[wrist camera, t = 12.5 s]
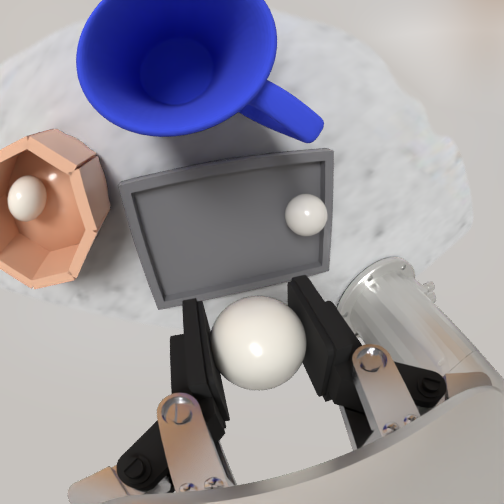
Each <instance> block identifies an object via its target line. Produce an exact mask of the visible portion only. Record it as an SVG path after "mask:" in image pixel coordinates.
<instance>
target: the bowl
mask: <svg viewBox="0 0 504 504" xmlns="http://www.w3.org/2000/svg"><path fill="white" fill-rule="evenodd" d="M95 154H96V153H95V152H94V151H92V150H90V149H89V148H88V147H87V146H86V145H85V144H84V143H83V142H81V141H80V140H78V139H76V138H74V137H72V136H70V135H67V134H64V133H63V132H61V131H59V130H58V129H50V130H47V131H43V132H39V133H36V134H32V135H29V136H26V137H24V138H22V139H20V140H18V141H16V142H14V143H12V144H10V145H9V146H7V147H5V148H3V149H1V150H0V269H1V270H3V271H4V272H6V273H8V274H9V275H11V276H12V277H14V278H15V279H17V280H18V281H20V282H22V283H23V284H25V285H27V286H28V287H30V288H33V287H34V289H38V288H42V287H47V286H51V285H56V284H60V283H64V282H69V281H73V280H75V278H77V276H78V274H79V272H80V270H81V268H82V265H83V263H84V261H85V259H86V257H87V255H88V253H89V251H90V249H91V247H92V244H93V242H94V240H95V238H96V236H97V234H98V232H99V230H100V228H101V226H102V224H103V222H104V220H105V218H106V216H107V215H108V213H109V211H110V209H109V208H110V206H111V205H110V201H109V198H108V187H107V182H106V178H105V175H104V171H103V169H102V167H101V165H100V162H99V157H98V156H95ZM26 175H32V176H35V177H37V178H39V179H40V180H41V181H42V182H43V184H44V186H45V188H46V193H47V200H46V205H45V207H44V210H43V211H42V213H41V214H40V215H39V216H38V217H37V218H36V219H34V220H32V221H28V222H24V221H20V220H18V219H16V218H15V217H14V216H13V215H12V214H11V212H10V210H9V207H8V193H9V190H10V188H11V186H12V185H13V183H14V182H15V181H16V180H17V179H19V178H20V177H22V176H26Z"/></svg>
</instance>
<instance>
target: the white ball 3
mask: <svg viewBox="0 0 504 504" xmlns="http://www.w3.org/2000/svg"><path fill="white" fill-rule="evenodd" d="M285 220H286V223H287V225H288V227H289V228H290V229H291V230H292V231H293V232H294V233H296V234H298V235H301V236H312V235H315V234H317V233H319V232H320V231H321V230H322V229H323V228H324V226H325V224H326V221H327V209H326V207H325V205H324V203H323V202H322V201H321V200H320V199H319V198H318V197H316V196H314V195H311V194H300V195H298V196H296V197H294V198H293V199H291V201H290V202H289V203H288V205H287V207H286V210H285Z"/></svg>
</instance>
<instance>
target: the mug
mask: <svg viewBox="0 0 504 504" xmlns="http://www.w3.org/2000/svg"><path fill="white" fill-rule="evenodd" d="M276 50H277V32H276V27H275V22H274V19H273V16H272V14H271V11H270V9H269V8H268V6H267V4H266V2H265V1H264V0H102V1H101V2H100V3H99V4H98V6H97V7H96V8H95V9H94V11H93V12H92V14H91V15H90V17H89V18H88V20H87V22H86V24H85V26H84V28H83V31H82V33H81V36H80V39H79V43H78V48H77V55H76V65H77V74H78V79H79V82H80V85H81V88H82V90H83V92H84V94H85V96H86V98H87V99H88V101H89V102H90V103H91V105H92V106H93V107H94V108H95V109H96V110H97V111H98V112H99V113H100V114H101V115H102V116H103V117H104V118H106V119H107V120H108V121H110V122H112V123H113V124H115V125H117V126H119V127H121V128H123V129H125V130H128V131H131V132H134V133H138V134H142V135H149V136H158V137H171V136H181V135H187V134H192V133H195V132H199V131H203V130H205V129H208V128H211V127H213V126H215V125H217V124H219V123H221V122H223V121H225V120H227V119H229V118H230V117H232V116H233V115H235V114H236V113H237V112H239V113H241V114H242V115H244V116H246V117H248V118H250V119H251V120H253V121H255V122H257V123H259V124H261V125H263V126H266V127H268V128H270V129H273V130H275V131H277V132H280V133H282V134H285V135H287V136H290V137H292V138H295V139H297V140H300V141H302V142H304V143H311V142H313V141H314V140H316V138H317V137H318V136H319V134H320V133H321V131H322V129H323V126H324V122H323V120H322V118H321V117H320V116H318V115H317V114H316V113H315V112H314V111H313V110H311V109H310V108H309V107H308V106H306V105H305V104H304V103H303V102H301V101H300V100H299V99H297V98H296V97H294V96H293V95H292V94H290V93H289V92H287V91H285V90H284V89H282V88H281V87H279V86H277V85H275V84H274V83H272V82H270V81H268V80H267V78H268V76H269V74H270V72H271V70H272V67H273V64H274V61H275V57H276Z"/></svg>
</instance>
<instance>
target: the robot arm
mask: <svg viewBox="0 0 504 504" xmlns="http://www.w3.org/2000/svg"><path fill="white" fill-rule="evenodd" d="M434 288H435V286H434V283H433V282H432V281H430V282H427V283H425V284H423V285H421V284H420V283H419V282H418V281H417V280H416V279H415V272H414V269H413V267H412V265H410V264H409V263H408V262H407V261H406V260H404V259H402V258H399V257H389V258H386V259H382V260H380V261H378V262H376V263H374V264H372V265H371V266H369V267H368V268H366V269H365V270H364V271H363V272H361V273H360V274H359V275H358V276H357V277H356V278H355V279H354V280H353V281H352V282H351V284H350V285H349V286H348V288H347V289H346V290H345V292H344V294H343V296H342V297H341V299H340V302H339V304H338V307H337V308H336V307H335V305H334V304H333V303H332V302H331V301H326V302H324V300H323V299H322V297H321V296H320V294H319V293H318V291H317V290H316V288H315V287H314V285H313V284H312V283H311V281H310V280H309V278H308V277H307V276H306V275H301V276H297V277H293V278H292V279H291V282H288V306H289V307H290V308H291V309H292V310H293V311H294V312H295V313H296V314H297V316H298V317H299V318H300V320H301V322H302V324H303V327H304V330H305V334H306V342H307V346H306V353H305V357H304V360H303V364H304V367H305V369H306V371H307V373H308V375H309V378H310V379H311V382H312V384H313V386H314V388H315V390H316V393H317V395H318V396H319V397H320V396H323V398H324V400H325V402H326V401H329V400H333V402H334V404H337V405H339V407H340V411H341V414H342V417H343V420H344V423H345V426H346V430H347V432H348V436H349V439H350V442H351V446H352V449H353V451H352V452H350V453H347V454H345V455H343V456H340V457H338V458H335V459H332V460H329V461H327V462H324V463H321V464H319V465H315V466H312V467H309V468H306V469H303V470H300V471H297V472H293V473H290V474H286V475H282V476H279V477H275V478H271V479H267V480H262V481H258V482H253V483H248V484H243V485H237V483H236V481H235V478H234V476H233V474H232V471H231V469H230V466H229V464H228V462H227V459H226V456H225V454H224V452H223V449H222V446H221V444H220V441H219V440H220V439H221V438H222V436H223V435H224V434H225V431H224V428H226V424H225V421H229V420H230V418H229V413H228V408H227V404H226V399H225V394H224V390H223V385H222V380H221V375H220V372H219V370H218V369H217V367H216V365H215V361H214V358H213V353H212V349H211V344H210V334H211V331H210V327H209V324H208V320H207V316H206V313H205V309H204V305H203V302H202V301H197V299H196V298H193V299H187V300H183V301H182V306H183V327H184V334H180V335H175V336H171V337H170V365H171V389H172V394H171V395H168V396H167V397H165V398H164V399H163V400H162V401H161V402H160V403H159V405H158V408H157V419H158V420H157V421H156V422H155V423H154V424H153V425H152V426H151V427H150V428H149V429H148V430H147V431H146V433H144V434H143V435H142V436H141V437H140V438H139V439H138V440H137V441H136V442H135V443H134V444H133V445H132V446H131V447H130V448H129V449H128V450H127V451H126V452H125V453H124V454H123V455H122V456H121V457H120V459H119V460H118V463H117V465H116V466H114V467H110V466H108V467H107V468H105V469H103V470H101V471H99V472H97V473H95V474H93V475H91V476H89V477H86V478H84V479H82V480H80V481H78V482H75V483H74V484H72V485H71V486H70V488H69V490H68V498H69V502H70V504H504V379H503V378H502V376H501V375H500V374H499V373H498V372H497V371H496V370H495V368H494V367H493V366H492V365H491V364H490V363H489V362H488V361H487V360H486V358H485V357H484V356H483V355H482V354H481V353H480V351H479V350H478V349H477V348H476V347H475V346H474V345H473V344H472V342H470V340H469V339H468V338H467V337H466V336H465V335H464V334H463V333H462V332H461V330H460V329H459V328H458V327H457V326H456V325H455V324H454V323H453V322H452V321H451V320H450V319H449V318H448V317H447V316H446V315H445V314H444V313H443V312H442V311H441V310H440V309H439V308H438V307H437V306H436V305H435V304H434V302H435V301H436V296H435V293H434V292H432V291H433V290H434ZM357 337H361V338H362V339H363V341H364V342H365V344H366V345H363V346H362V345H361V343H360V341H359V340H358V339H357ZM174 491H176V493H173V492H174Z"/></svg>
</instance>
